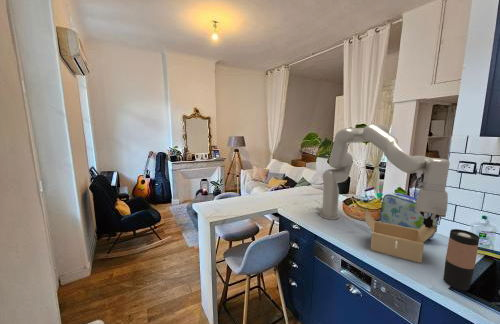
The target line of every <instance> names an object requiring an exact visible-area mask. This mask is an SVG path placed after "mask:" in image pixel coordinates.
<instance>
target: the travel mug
mask: <svg viewBox="0 0 500 324" xmlns="http://www.w3.org/2000/svg"><path fill="white" fill-rule="evenodd" d="M479 243H480V236H479V235H478V234H475V233H474V232H471V231H468V230H465V229H458V228H452V229H451V230H450V233H449V239H448V242H447V249H446V255H445V263H444V269H443V282H444V283H445V284H447V285H448V286H450V287H452V288H453V289H457V290H460V291H469V290H470V288H471V283H472V280H473V275H474V271H475V266H476V261H477V260H476V259H477V255H478V249H479Z"/></svg>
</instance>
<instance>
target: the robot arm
mask: <svg viewBox="0 0 500 324" xmlns="http://www.w3.org/2000/svg"><path fill="white" fill-rule="evenodd" d="M366 142H370V143H371V144H372V145H373V146H375V147H376V148H378V149H379V150H380V151H381V152H383V154H384V156H385V158H386V159H387V160H388V161H389V163H390V164H392V165H393V166H394V167H395V168H397V169H399V170H400V171H402V172H403V173H406V174H416V173H424V174H423V180H422V181H421V182H418V186H420V189H419V190H418V193H417V197H416V198H417V200H416V207H415V209H414V211H415V212H417V213H420V214H421V215H422V216H423V217H424V221H423V224H424V225H425V227H428V228H430V226H432V224H433V220H434V219H435V218H437V217H438V218H446V216H447V215H446V214H447V213H448V202H449V201H448V200H449V199H448V198H449V197H448V196H449V194H448V192H447V191H446V188H447V182H448V181H447V180H448V177H449V176H448V175H449V171H450V165H451V164H450V160H448V159H447V158H437V157H429V156H425V155H410V154H408V153H407V152H405V151H404V150H403V149H402V148H400V147H399V145H398V142H399V140H398V138H397V137H395V136H393V134H391V133H389V129H388V127H387V126H386V125H384V124H381V123H377V124H376V123H372V124H367V125H365V127H346V128H342V129H340V130H339V131H337V132H336V134H335V136H334V139H333V146H332V148H331V152H330V157H329V160H328V164H329V166H330V167H331V168H329V169H326V170H325V171H323V173H322V182H323V193H322V207H318V206H316V207H315V211H316V212H319V216H320V217H321V218H324V219H326V220H332V221H333V220H339V219H340V218H341V216H340V214H339V212H338V211H339V197H340V189H339V185H338V183H344V182H346V181H347V180H348V178H349V176H350V173H351V169H352V166H353V163H354V158H353V156H352V155H351V154H350V153H349V152H348V149H349V146H348V144H351V143H352V144H353V143H354V144H355V143H359V144H360V143H366ZM427 213H431V215H430V216H429V218H428V215H427Z"/></svg>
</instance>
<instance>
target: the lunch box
mask: <svg viewBox="0 0 500 324" xmlns="http://www.w3.org/2000/svg"><path fill="white" fill-rule="evenodd" d="M416 200H417V197H414V196H411V195H408V194H404V193H401V192H393V193H386V194H384V196H383V198H382V201H381V208H380V214H379V215H380V216H379V217H380V218H379V219H380V222H382V223H387V224H392V225H397V226H402V227H407V228H412V229H417V230H419V229H420V228H421V227H422V226H423V225H424V224H423V221H424V217H423V216H422V215H421V214H420V213H417V212H415V211H414V209H415V207H416ZM427 215H428V218H429V216H430V215H431V213H427ZM438 220H439V217H437V218H435V219H434V220H433V225H434V227H435V229H436V231H438V225H439V223H438ZM435 235H436V232H435V233H434V234H433V235H432V236H431V237H429V238H428V239H429V240H430V239H432V238H433V237H434V236H435ZM428 239H427V240H428Z"/></svg>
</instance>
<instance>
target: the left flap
mask: <svg viewBox="0 0 500 324" xmlns="http://www.w3.org/2000/svg"><path fill="white" fill-rule="evenodd" d="M363 220H364V221H365V222H366V224H367V225H368V227H369V228H370V230H371V232H372V231H373V229H374V221H375V219H374V218H373V216H372V214H371V213H370V211H369V210H368V209H367V208H365V210H364V214H363Z"/></svg>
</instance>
